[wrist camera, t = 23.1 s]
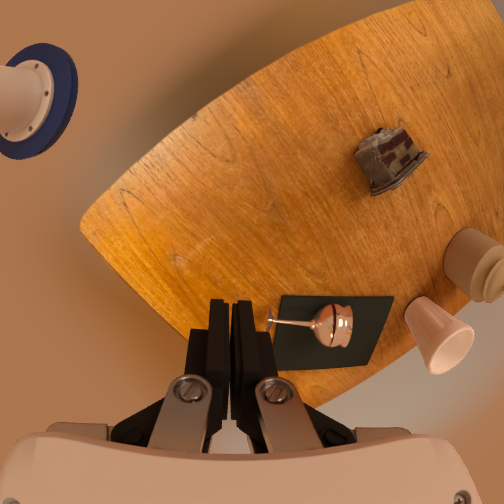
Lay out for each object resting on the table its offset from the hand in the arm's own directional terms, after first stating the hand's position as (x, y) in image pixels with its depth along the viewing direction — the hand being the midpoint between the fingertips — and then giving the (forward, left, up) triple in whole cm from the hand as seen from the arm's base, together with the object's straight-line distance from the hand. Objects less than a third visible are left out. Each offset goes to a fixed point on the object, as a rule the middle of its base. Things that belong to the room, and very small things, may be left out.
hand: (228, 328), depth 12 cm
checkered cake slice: (+21, +8, -27) cm, 35 cm away
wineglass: (+7, -18, -25) cm, 31 cm away
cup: (+36, -18, -27) cm, 49 cm away
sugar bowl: (+45, -5, -27) cm, 53 cm away
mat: (+19, -23, -27) cm, 40 cm away
